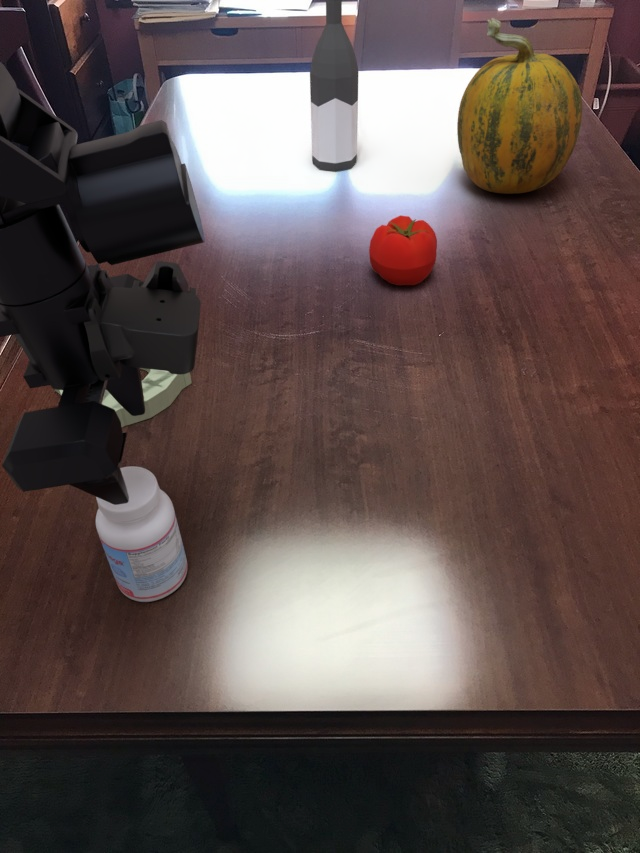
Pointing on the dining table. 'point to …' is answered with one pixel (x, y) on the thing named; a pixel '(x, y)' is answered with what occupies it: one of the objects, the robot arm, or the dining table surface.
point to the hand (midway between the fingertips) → (131, 455)
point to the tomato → (403, 251)
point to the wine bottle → (334, 95)
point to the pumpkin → (518, 118)
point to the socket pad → (150, 395)
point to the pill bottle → (142, 539)
